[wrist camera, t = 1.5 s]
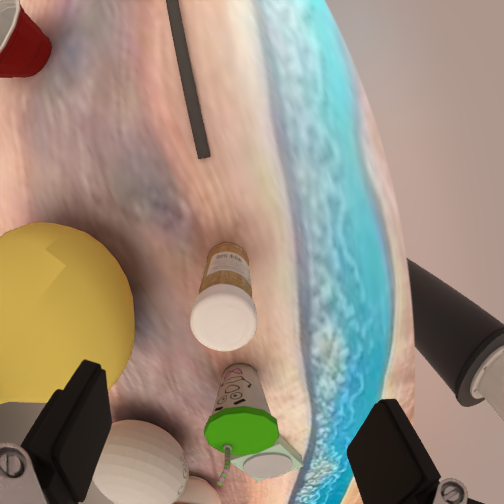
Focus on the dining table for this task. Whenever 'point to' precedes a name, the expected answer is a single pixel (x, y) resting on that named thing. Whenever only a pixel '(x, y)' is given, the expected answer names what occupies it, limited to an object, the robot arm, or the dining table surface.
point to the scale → (269, 461)
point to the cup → (240, 416)
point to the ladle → (187, 79)
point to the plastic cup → (20, 42)
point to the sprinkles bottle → (225, 301)
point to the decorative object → (141, 465)
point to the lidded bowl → (198, 492)
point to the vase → (59, 310)
